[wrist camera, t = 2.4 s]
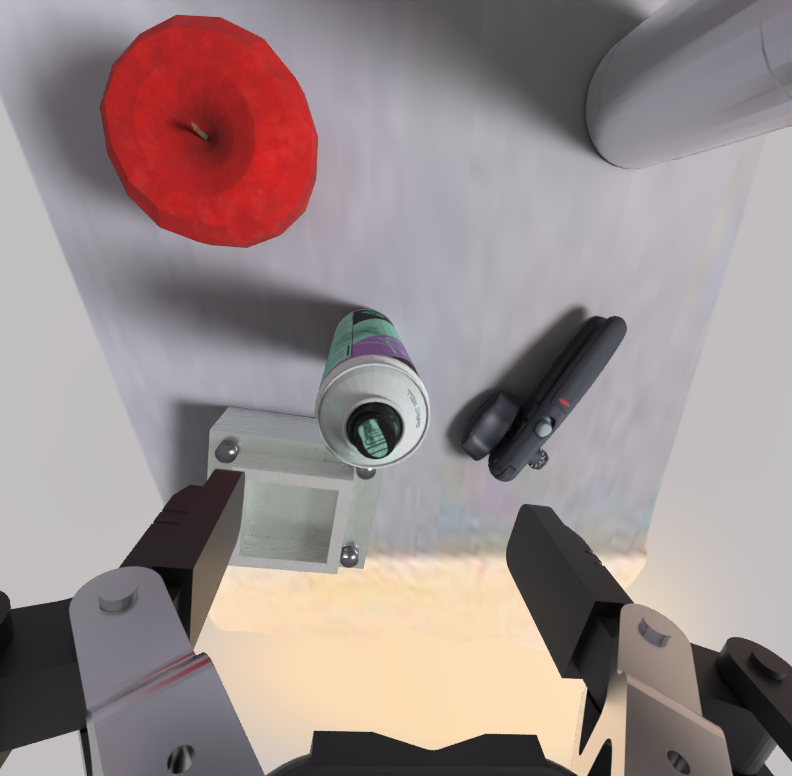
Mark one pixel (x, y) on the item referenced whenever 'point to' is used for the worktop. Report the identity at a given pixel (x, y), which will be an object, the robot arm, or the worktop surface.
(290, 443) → the grey square holder
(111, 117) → the apple
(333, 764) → the robot arm
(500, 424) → the can opener
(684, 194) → the worktop surface
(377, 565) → the worktop surface
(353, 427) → the spray can
